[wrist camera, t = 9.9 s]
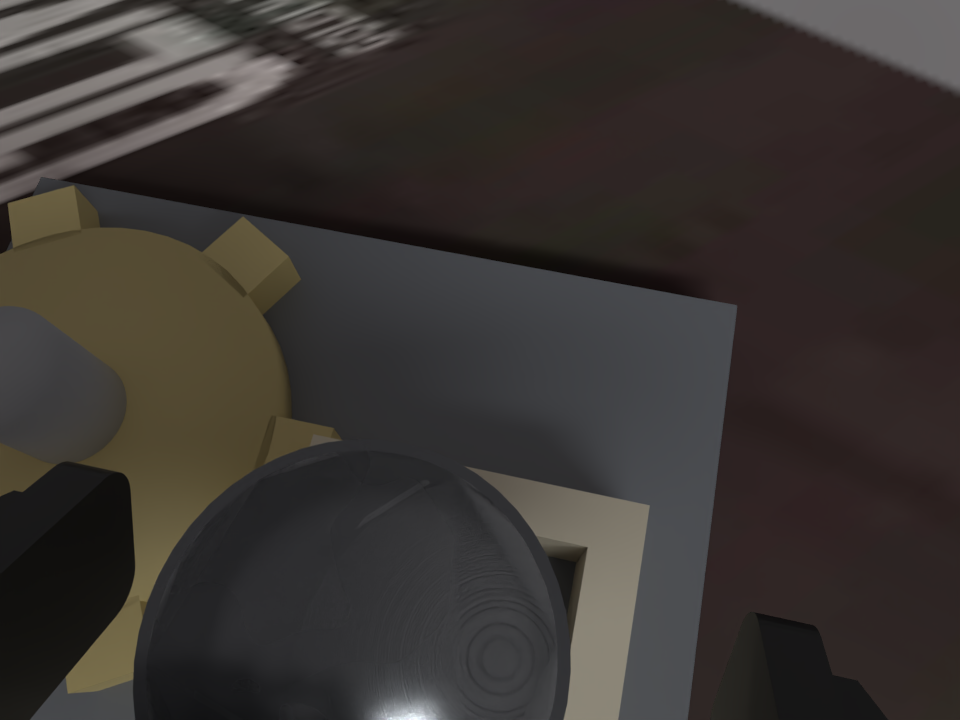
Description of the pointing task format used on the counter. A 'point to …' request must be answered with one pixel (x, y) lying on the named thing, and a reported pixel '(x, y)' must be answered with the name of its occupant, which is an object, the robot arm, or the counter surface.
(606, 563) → the gear board
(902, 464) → the counter surface
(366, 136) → the counter surface
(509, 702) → the grey cylinder peg
